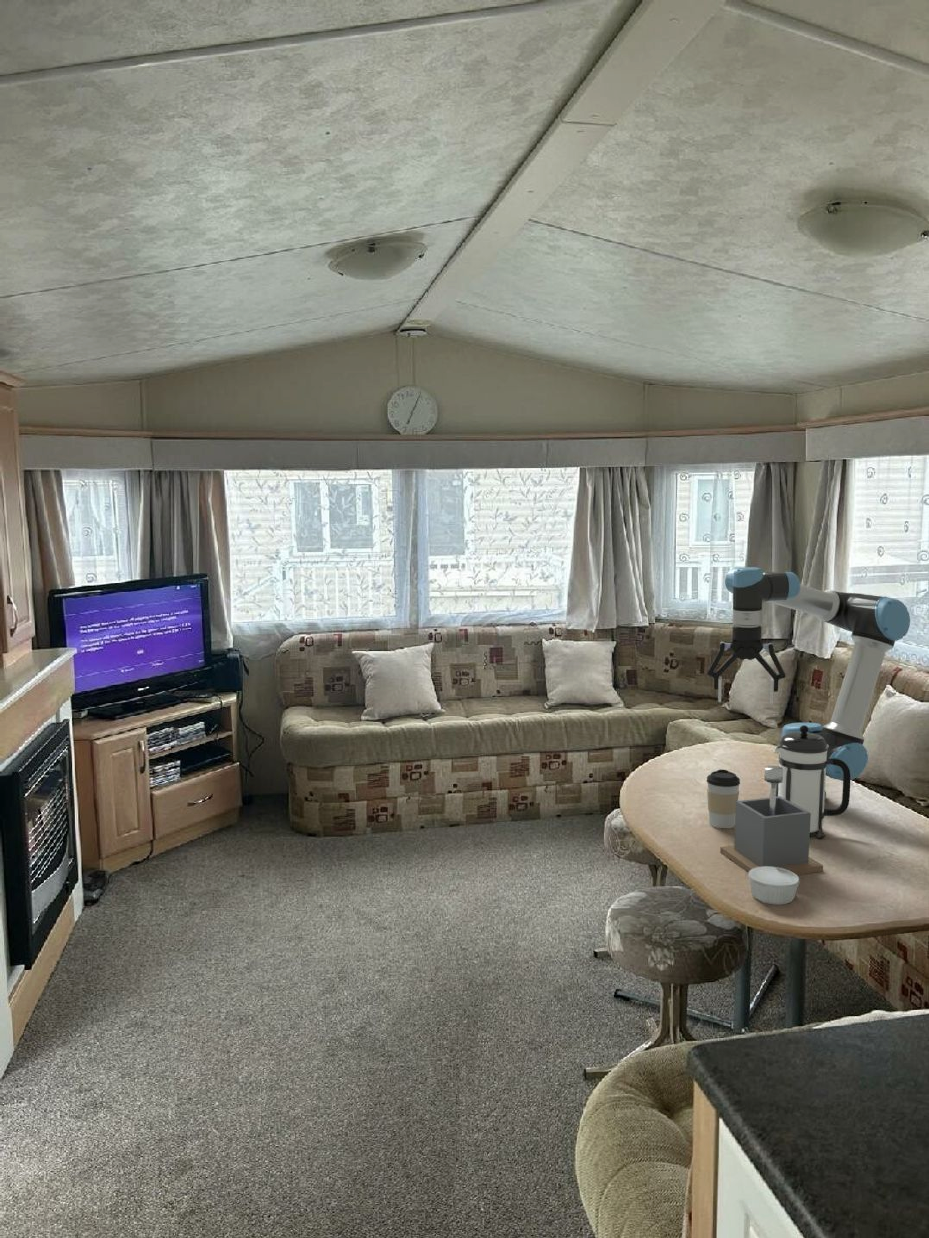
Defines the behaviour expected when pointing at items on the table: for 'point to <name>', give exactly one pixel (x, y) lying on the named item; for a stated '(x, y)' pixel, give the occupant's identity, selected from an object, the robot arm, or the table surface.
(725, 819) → the coffee cup
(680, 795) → the table surface
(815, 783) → the coffee press
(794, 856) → the square grey bin
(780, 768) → the plunger
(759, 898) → the ramekin
